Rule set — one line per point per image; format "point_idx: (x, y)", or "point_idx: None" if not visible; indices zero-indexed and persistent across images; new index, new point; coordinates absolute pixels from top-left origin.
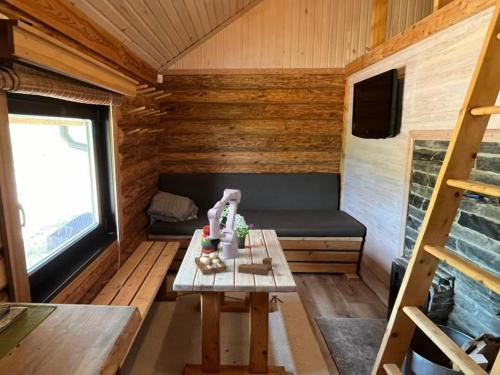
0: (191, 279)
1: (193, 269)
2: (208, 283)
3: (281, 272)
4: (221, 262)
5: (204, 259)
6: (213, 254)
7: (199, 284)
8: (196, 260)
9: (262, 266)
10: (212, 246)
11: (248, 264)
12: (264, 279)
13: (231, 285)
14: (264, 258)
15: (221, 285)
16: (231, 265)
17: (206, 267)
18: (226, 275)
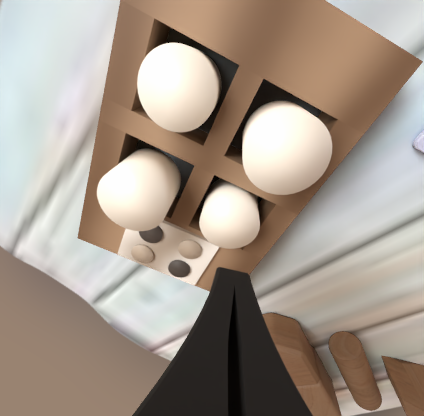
0: (15, 207)
1: (74, 96)
2: (78, 286)
3: (357, 404)
4: (253, 247)
5: (108, 202)
6: (273, 174)
7: (38, 267)
8: (120, 13)
9: (318, 412)
10: (199, 317)
11: (307, 373)
12: None
13: (146, 343)
14: (421, 410)
15: (116, 323)
16: (316, 251)
17: (114, 226)
18: (190, 296)
